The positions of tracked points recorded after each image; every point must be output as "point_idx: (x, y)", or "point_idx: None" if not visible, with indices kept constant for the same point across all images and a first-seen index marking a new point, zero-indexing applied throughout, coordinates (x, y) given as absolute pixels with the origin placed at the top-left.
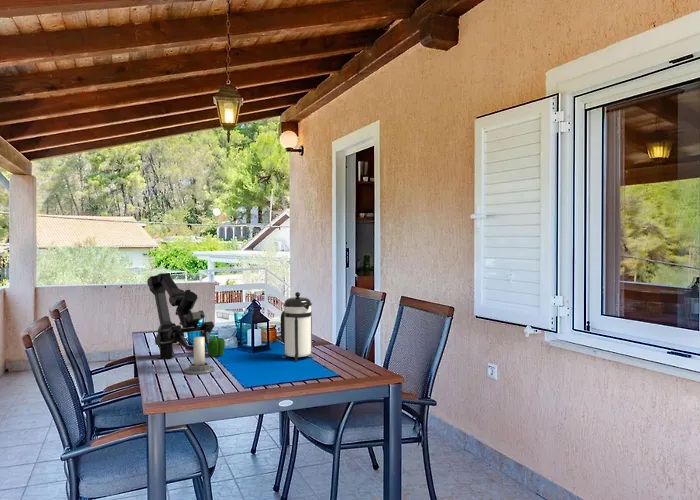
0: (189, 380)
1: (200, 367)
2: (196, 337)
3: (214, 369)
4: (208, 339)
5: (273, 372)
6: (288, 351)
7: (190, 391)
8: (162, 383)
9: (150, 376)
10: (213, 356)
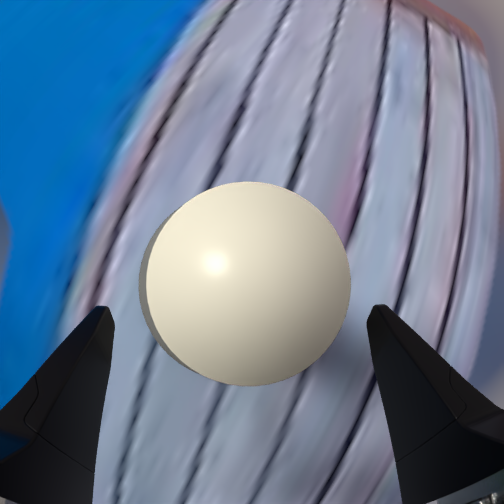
0: (359, 138)
1: None
2: (282, 328)
3: (154, 237)
4: (67, 342)
5: (36, 47)
6: None
7: (390, 32)
8: (456, 187)
9: (459, 345)
10: None
